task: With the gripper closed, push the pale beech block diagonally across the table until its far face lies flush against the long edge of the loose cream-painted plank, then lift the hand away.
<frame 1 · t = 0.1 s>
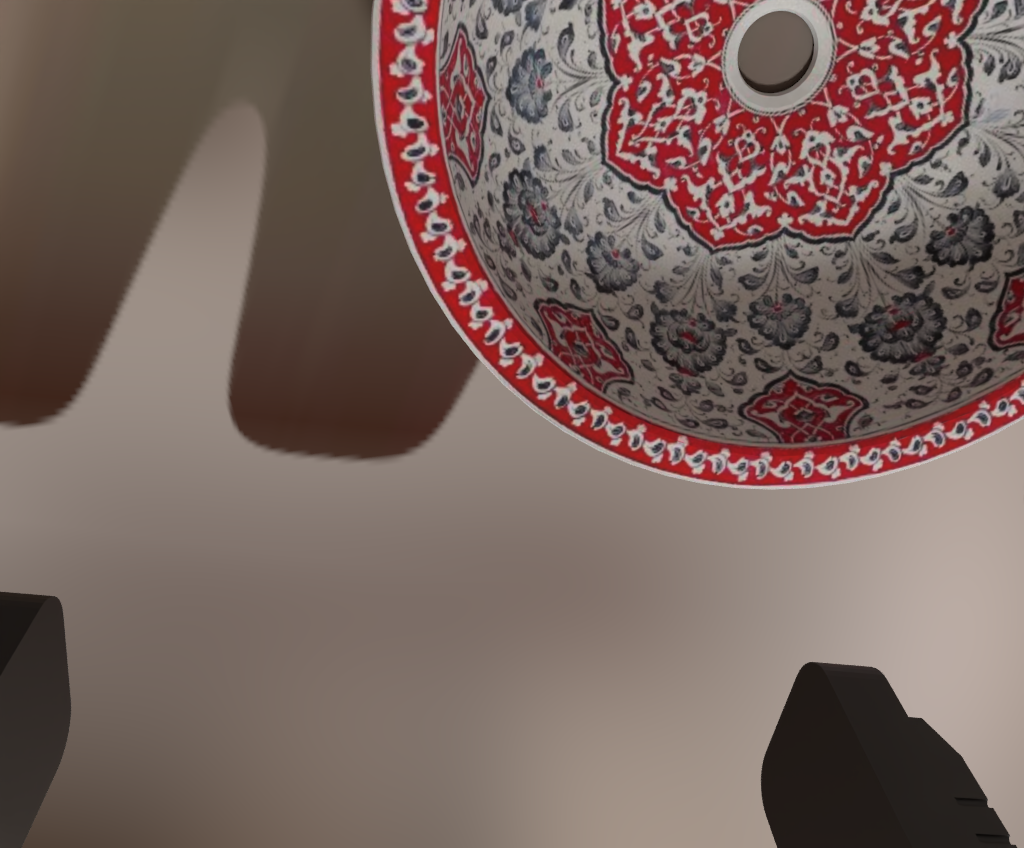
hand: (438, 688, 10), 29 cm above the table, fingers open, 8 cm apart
ceramic bowl: (772, 51, 35), on the table
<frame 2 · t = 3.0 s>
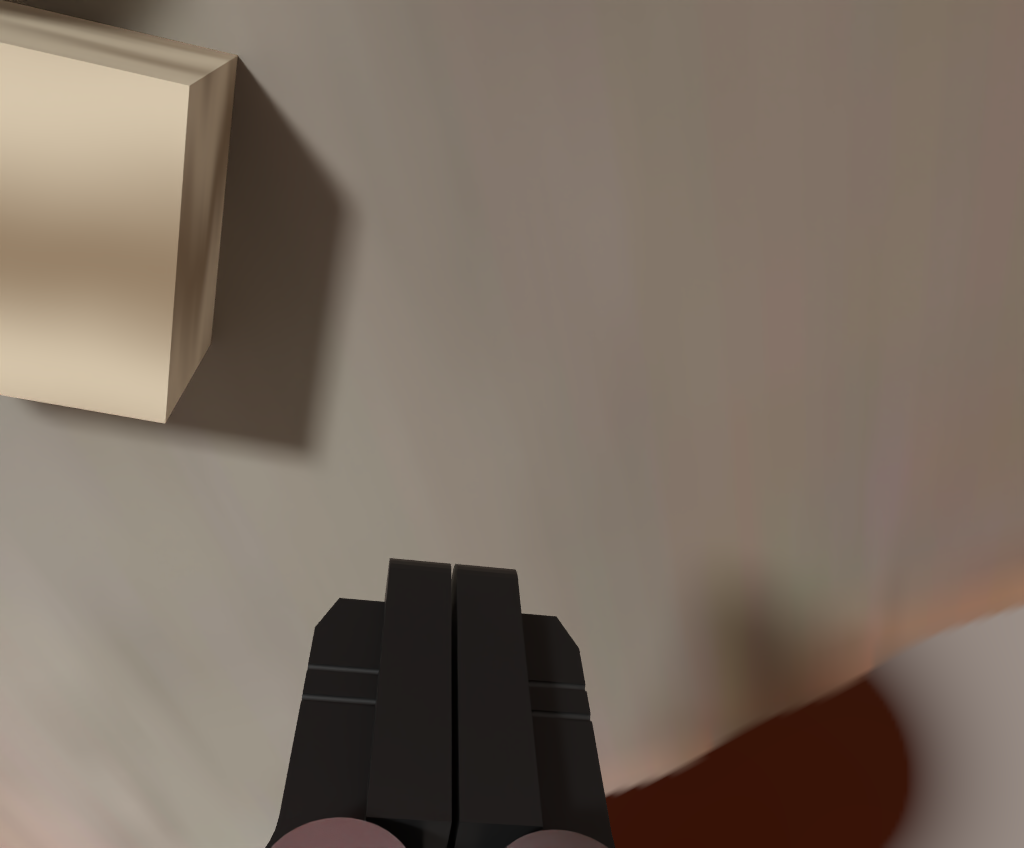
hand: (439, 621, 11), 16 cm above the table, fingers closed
block: (70, 175, 24), on the table
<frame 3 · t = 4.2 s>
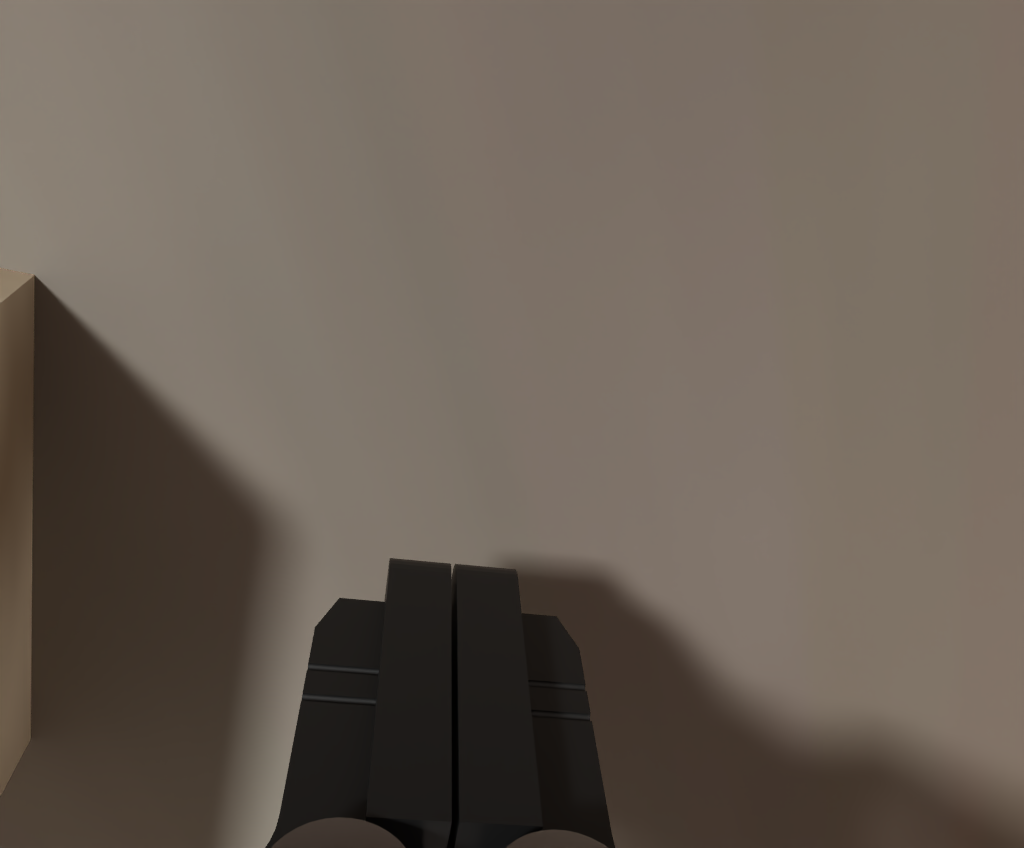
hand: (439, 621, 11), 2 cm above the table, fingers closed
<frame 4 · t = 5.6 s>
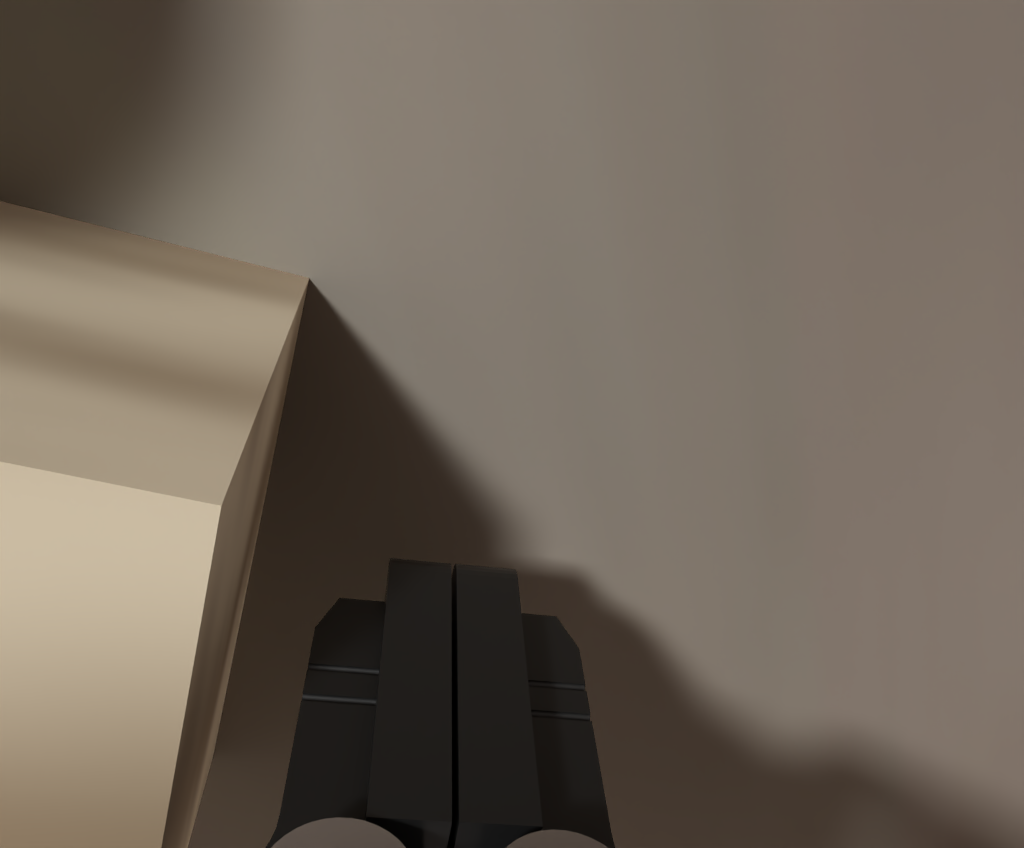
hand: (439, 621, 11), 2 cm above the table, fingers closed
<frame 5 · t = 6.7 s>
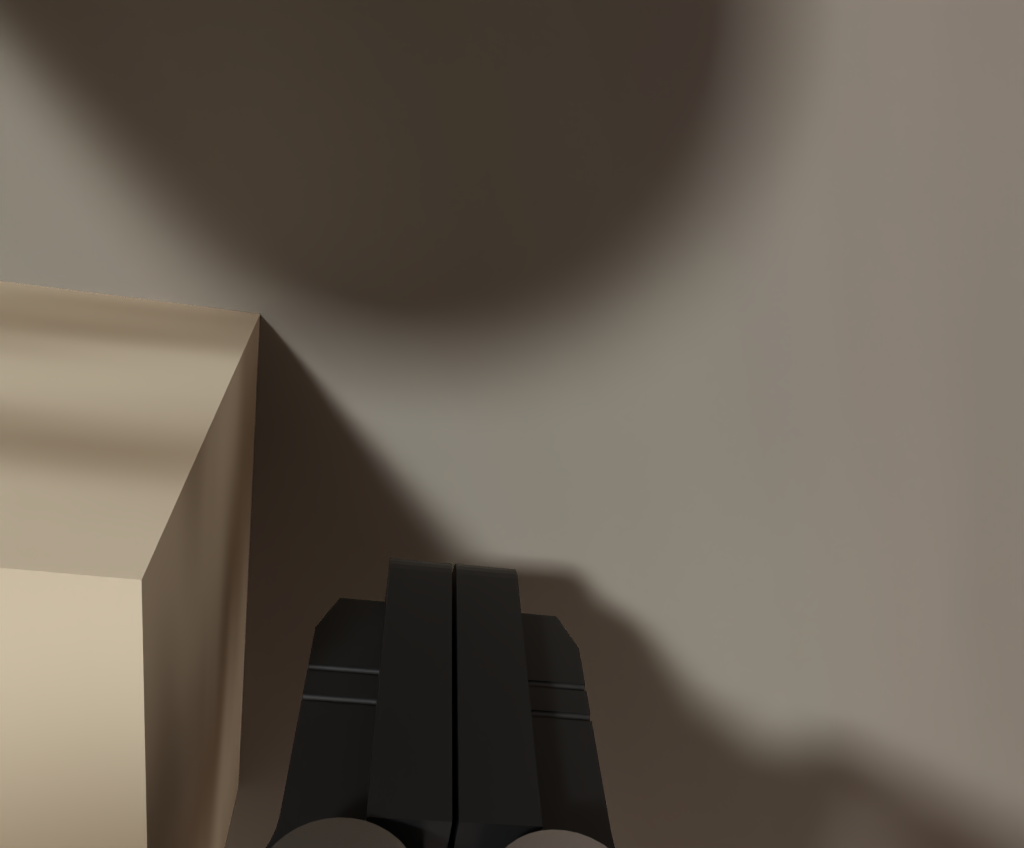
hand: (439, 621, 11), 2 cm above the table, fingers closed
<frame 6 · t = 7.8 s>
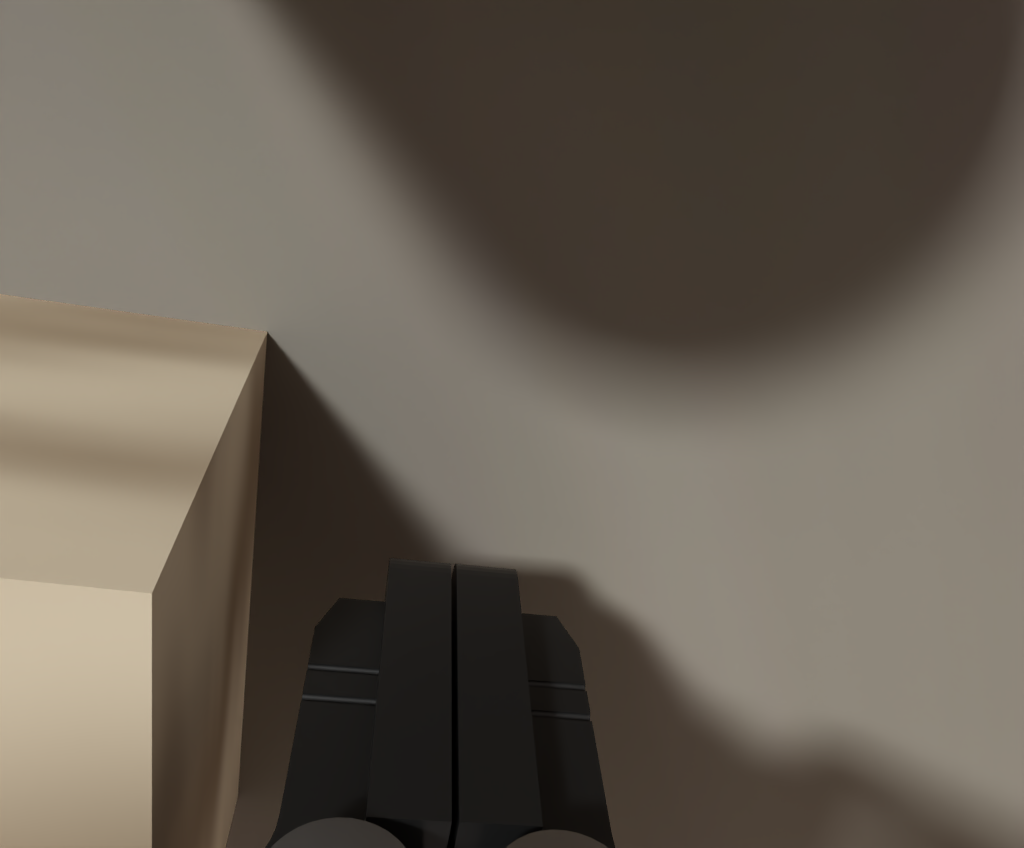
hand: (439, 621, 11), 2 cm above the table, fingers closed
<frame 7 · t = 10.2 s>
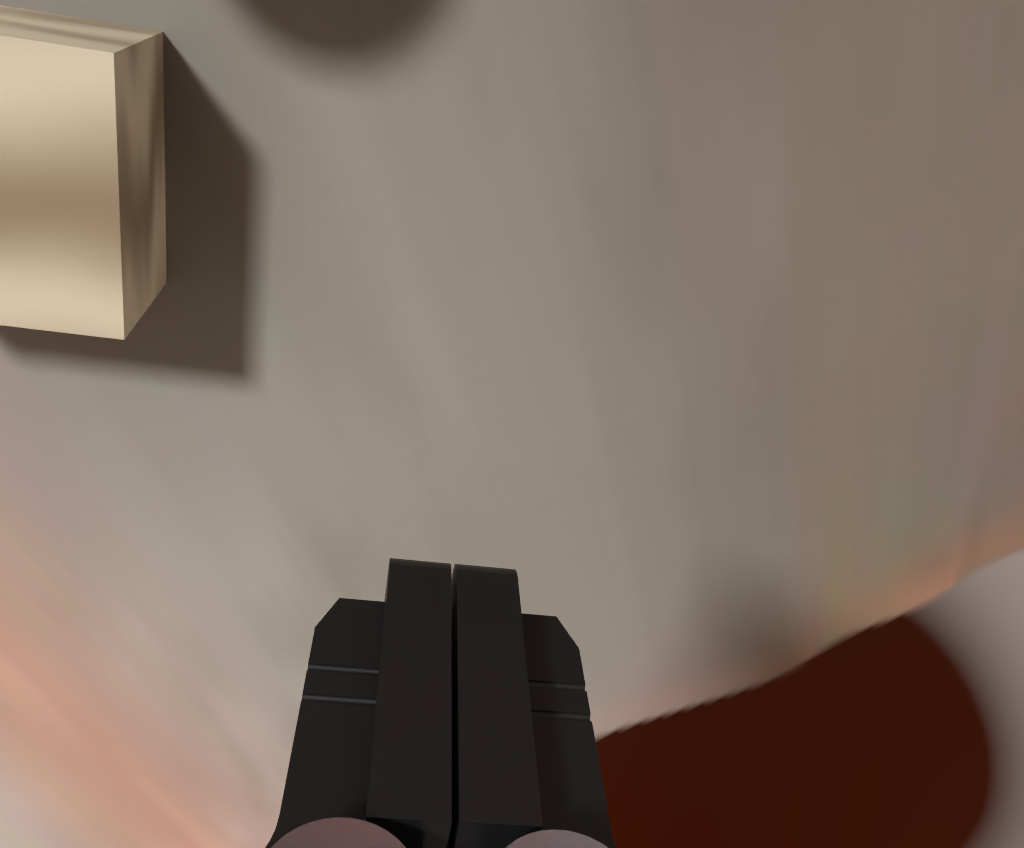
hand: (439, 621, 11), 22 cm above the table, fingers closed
block: (35, 144, 29), on the table
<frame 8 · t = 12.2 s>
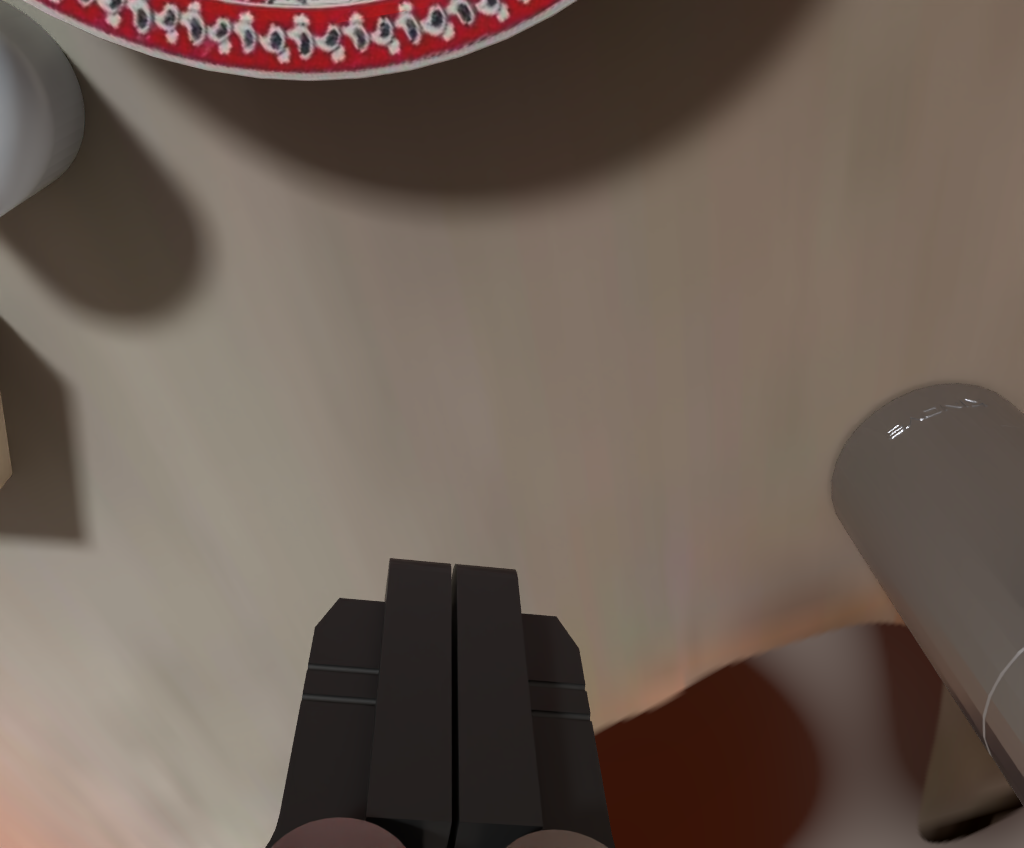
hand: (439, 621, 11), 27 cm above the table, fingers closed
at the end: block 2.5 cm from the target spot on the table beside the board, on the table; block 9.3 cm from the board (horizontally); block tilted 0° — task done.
